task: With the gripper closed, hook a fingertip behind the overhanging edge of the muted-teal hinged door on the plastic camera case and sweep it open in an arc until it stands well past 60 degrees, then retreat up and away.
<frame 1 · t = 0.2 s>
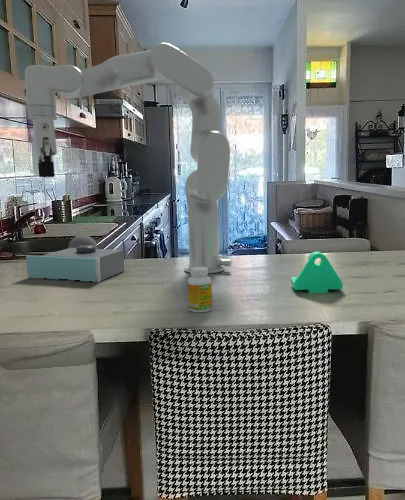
hand: (46, 176, 134), 31 cm above the table, tool pointing down, fingers open, 9 cm apart
camera mount: (315, 290, 126), on the table
supplement bottle: (200, 310, 110), on the table
decorative ball: (83, 263, 170), on the table
camera case: (85, 274, 150), on the table
case door: (62, 268, 143), point 4 cm above the table, hinge at 2.0°
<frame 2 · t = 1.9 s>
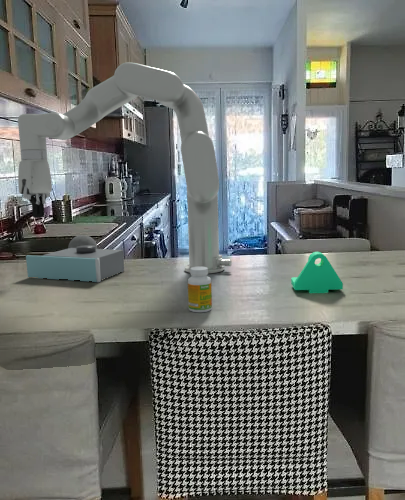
hand: (38, 217, 148), 18 cm above the table, tool pointing down, fingers closed
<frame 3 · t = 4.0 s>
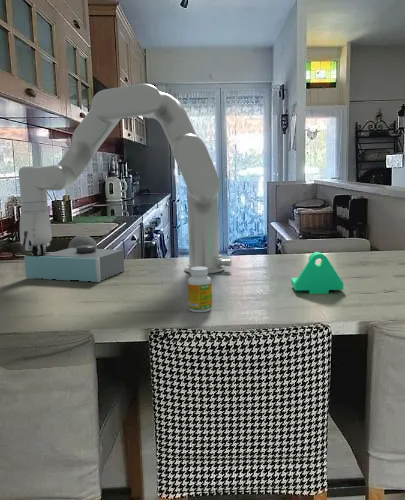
hand: (39, 266, 149), 3 cm above the table, tool pointing down, fingers closed
case door: (61, 268, 143), point 4 cm above the table, hinge at 3.9°, touching gripper
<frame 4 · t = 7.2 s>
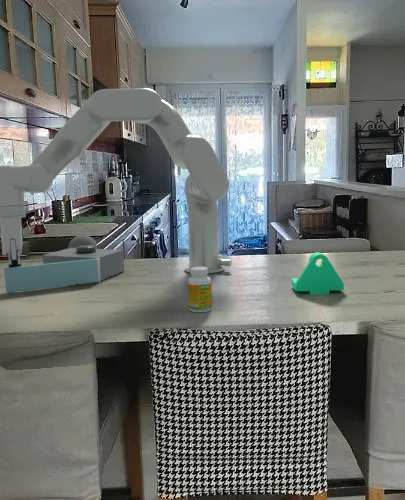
hand: (16, 278, 132), 3 cm above the table, tool pointing down, fingers closed
case door: (54, 275, 134), point 4 cm above the table, hinge at 47.4°, touching gripper
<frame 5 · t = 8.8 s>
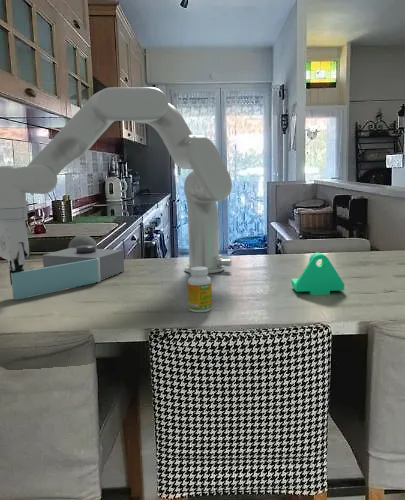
hand: (18, 284, 126), 3 cm above the table, tool pointing down, fingers closed
case door: (59, 277, 130), point 4 cm above the table, hinge at 66.3°, touching gripper
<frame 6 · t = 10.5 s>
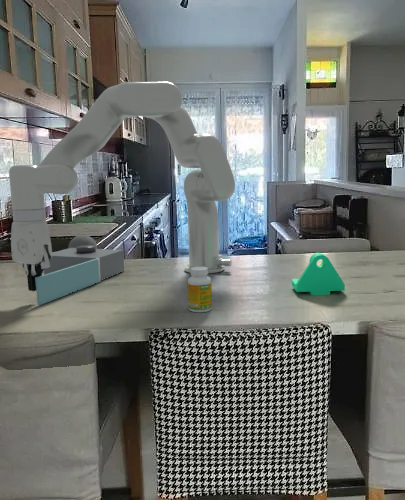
hand: (35, 289, 120), 3 cm above the table, tool pointing down, fingers closed
case door: (71, 279, 128), point 4 cm above the table, hinge at 89.4°, touching gripper
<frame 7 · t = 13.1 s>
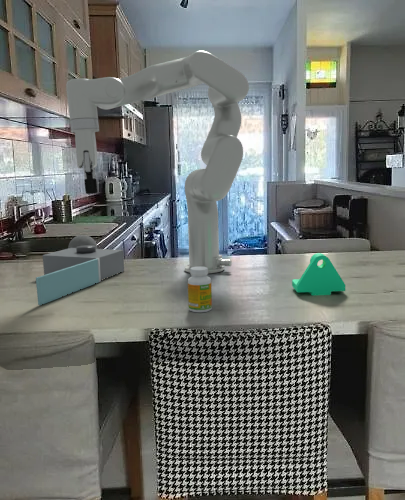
hand: (91, 193, 135), 26 cm above the table, tool pointing down, fingers closed
case door: (71, 279, 128), point 4 cm above the table, hinge at 89.7°
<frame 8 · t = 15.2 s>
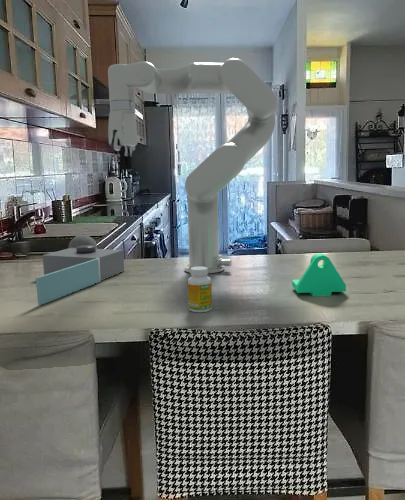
hand: (125, 169, 148), 32 cm above the table, tool pointing down, fingers closed
at the end: case door at +90° (first picture: +2°); decorative ball moved 0.2 cm from its start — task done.
